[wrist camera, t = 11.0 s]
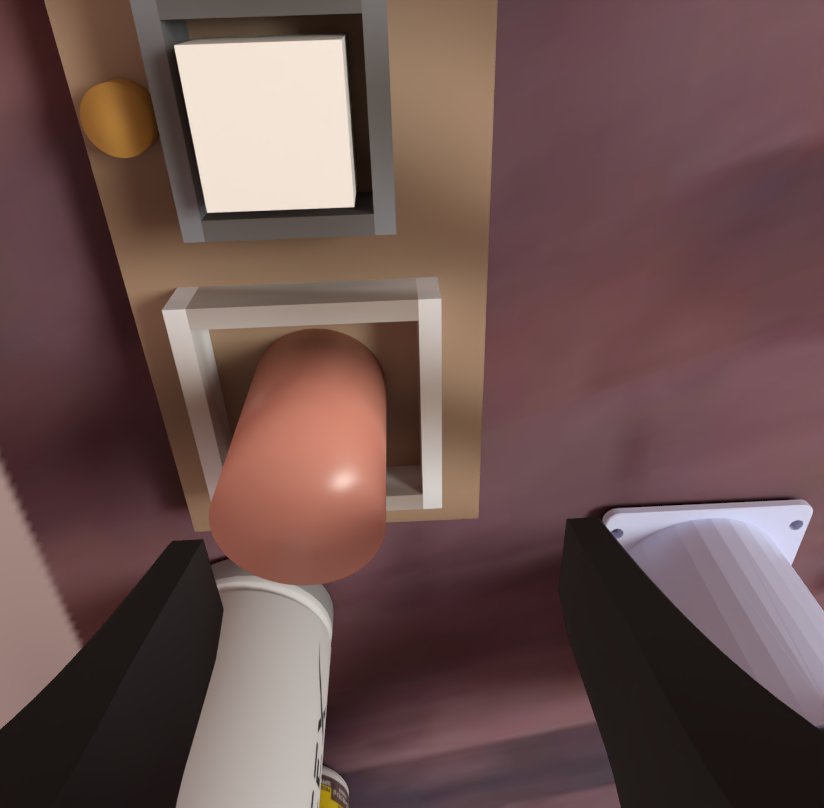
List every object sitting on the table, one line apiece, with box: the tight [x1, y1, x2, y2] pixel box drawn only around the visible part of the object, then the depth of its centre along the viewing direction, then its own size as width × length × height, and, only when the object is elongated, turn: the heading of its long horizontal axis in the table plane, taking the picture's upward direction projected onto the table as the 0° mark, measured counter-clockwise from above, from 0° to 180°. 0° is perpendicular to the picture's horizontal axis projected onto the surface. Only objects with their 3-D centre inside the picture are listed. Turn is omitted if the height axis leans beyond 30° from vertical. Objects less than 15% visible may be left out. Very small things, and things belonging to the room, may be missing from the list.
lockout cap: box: [209, 329, 386, 585], centre depth 17 cm, size 4×4×6 cm
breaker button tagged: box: [174, 33, 357, 213], centre depth 14 cm, size 3×3×2 cm
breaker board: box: [44, 0, 498, 532], centre depth 17 cm, size 21×10×4 cm, turn 2°
